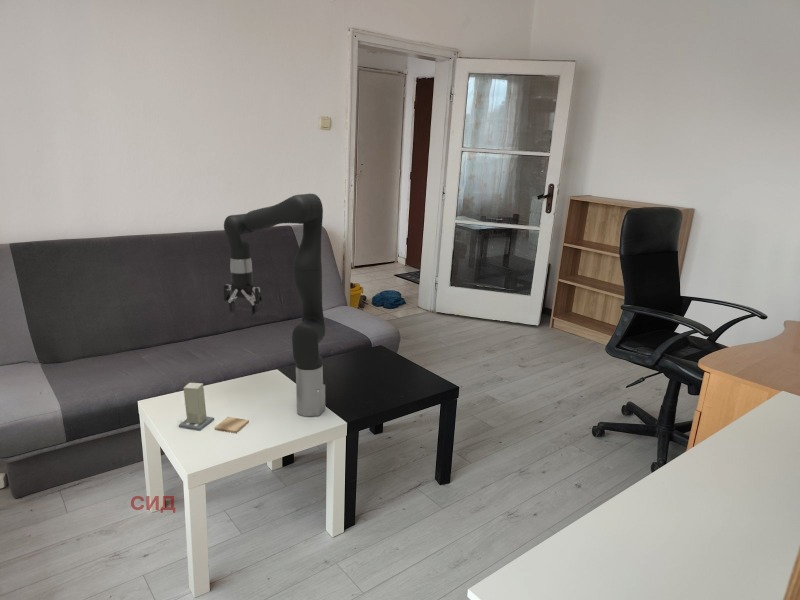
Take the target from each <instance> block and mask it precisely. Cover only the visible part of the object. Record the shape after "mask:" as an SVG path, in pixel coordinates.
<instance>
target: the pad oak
mask: <svg viewBox="0 0 800 600" xmlns="http://www.w3.org/2000/svg"><path fill="white" fill-rule="evenodd" d="M249 423H250V420H249V419H244V418H237V417H231V416H226V417H225V418H224V419H223V420H222V421H221V422H219V423H218V424H216V426H214V427H213V428H214V431H220V432H224V431H225V432H226V433H230V432H231V434H238V433H240V431H242V429H243V428H244V427H246V426H247V425H248V424H249ZM246 424H247V425H246ZM237 432H238V433H237Z"/></svg>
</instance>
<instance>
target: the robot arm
mask: <svg viewBox="0 0 800 600" xmlns="http://www.w3.org/2000/svg"><path fill="white" fill-rule="evenodd" d="M323 215H324V209H323V203H322V200H321V199H320V197H319V195H317V194H315V193H304V194H303V193H302V194H295V195H292V196H290V197H288V198H286V199H285V200H283V201H280V202H278V203H277V204H273V205H270V206H267V207H262V208H257V209H253V210H249V211H248V212H247V213H241V214H240V213H239V214H231V215H228V216H226V218H225V219H224V222H223V228H224V229H223V230H224V234H225V235H226V239H227V242H228V245H229V252H230V253H229V254H230V261H229V262H230V263H229V265H230V283H231V284H230V283H226V284H225V285H223V300H224V302H228V306H229V309H228V310H229V311H230V313H232V314H234V313H236V301H235V300H236V299H237V298H239V299H240V298H242V299H246V300H247V301H248V302H249V303H250V304H251V306H250V307H251V315H252V316H255V315H257V313H258V305H260V304H261V303H262V302H263V296H262V295H263V294H262V288H261V286H257V287H255V286H253V281H254V280H253V265H252V264H253V262H252V253H251V252H252V251H251V250H252V249H251V243H250V242H249V241H248V240H242V238H241V235H246V234H251V233H254V232H257V231H262V230H266V229H270V228H273V227H274V226H276V225H281V224H298V225H301V224H302V231H303V232H302V239H301V242H300V245H299V247H298V250H297V252H296V254H295V257H294V259H293V260H294V261H293V283H294V286H295V288H296V291H297V294H298V296H299V299H300V302H301V311H302V313H301V315H302V316H301V322H299V324H297V325H296V326H295V327H294V328H293V331H292V336H291V340H292V341H291V343H292V345H291V346H292V355H293V360H294V362H295V391H296V392H295V393H296V395H295V396H296V413H297V414H298V415H300V416H302V417H315V416H316V417H320V416H321V414H322V413H323V412H324V411H325V410H326V384H324V378H323V377H324V376H323V374H324V371H323V370H324V369H323V367H324V364H323V363H324V362H323V357H322V355H320V353H319V352H320V351H319V343H321V342H323V339H324V338H325V336H326V324H325V317H324V310H323V266H322V233H323V231H322V229H323V219H324V218H323ZM231 291H232V293H231Z"/></svg>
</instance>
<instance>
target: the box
mask: <svg viewBox="0 0 800 600" xmlns="http://www.w3.org/2000/svg"><path fill="white" fill-rule="evenodd" d="M183 395H184V406H185V413H186V414H185V415H186V419H187V423H196V424H201V423H202V422H203V421H204V420H205V419H206V418H207V417H208V416H207V409H206V399H205V389H204V383H199V382H188V383H187V384H186V385H185V386H184V387H183ZM206 416H207V417H206Z"/></svg>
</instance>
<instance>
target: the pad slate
mask: <svg viewBox="0 0 800 600" xmlns="http://www.w3.org/2000/svg"><path fill="white" fill-rule="evenodd" d="M206 417H207V418H206V419H205V420H204V421H203V422H202V423H201V424H196V423H187V418H186V419H185V420H183V421H181V422H180V423H179V424H178V428H180V429H181V428H182V429H188V430H193V431H198V432H199V431H202V430H203V429H204V428H205V427H207V426H208V425H210V424H211V423H212V422H213V421H214V420H215V417H213V416H207V415H206Z"/></svg>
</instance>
